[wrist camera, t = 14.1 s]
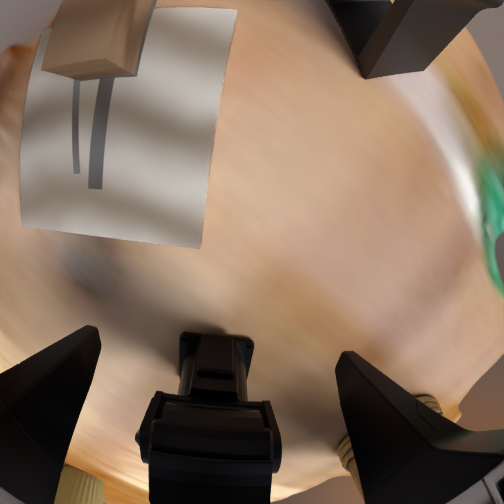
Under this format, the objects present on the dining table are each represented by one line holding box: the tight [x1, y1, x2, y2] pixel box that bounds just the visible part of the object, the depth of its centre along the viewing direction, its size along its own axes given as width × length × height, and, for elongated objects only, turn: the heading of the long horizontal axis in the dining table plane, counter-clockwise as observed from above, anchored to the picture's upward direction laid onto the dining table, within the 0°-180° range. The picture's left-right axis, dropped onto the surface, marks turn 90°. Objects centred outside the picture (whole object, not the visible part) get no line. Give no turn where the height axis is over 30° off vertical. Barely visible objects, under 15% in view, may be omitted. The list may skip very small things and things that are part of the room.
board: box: [20, 7, 237, 249], centre depth 16 cm, size 17×16×1 cm
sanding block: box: [41, 0, 157, 81], centre depth 10 cm, size 7×4×5 cm, turn 171°
